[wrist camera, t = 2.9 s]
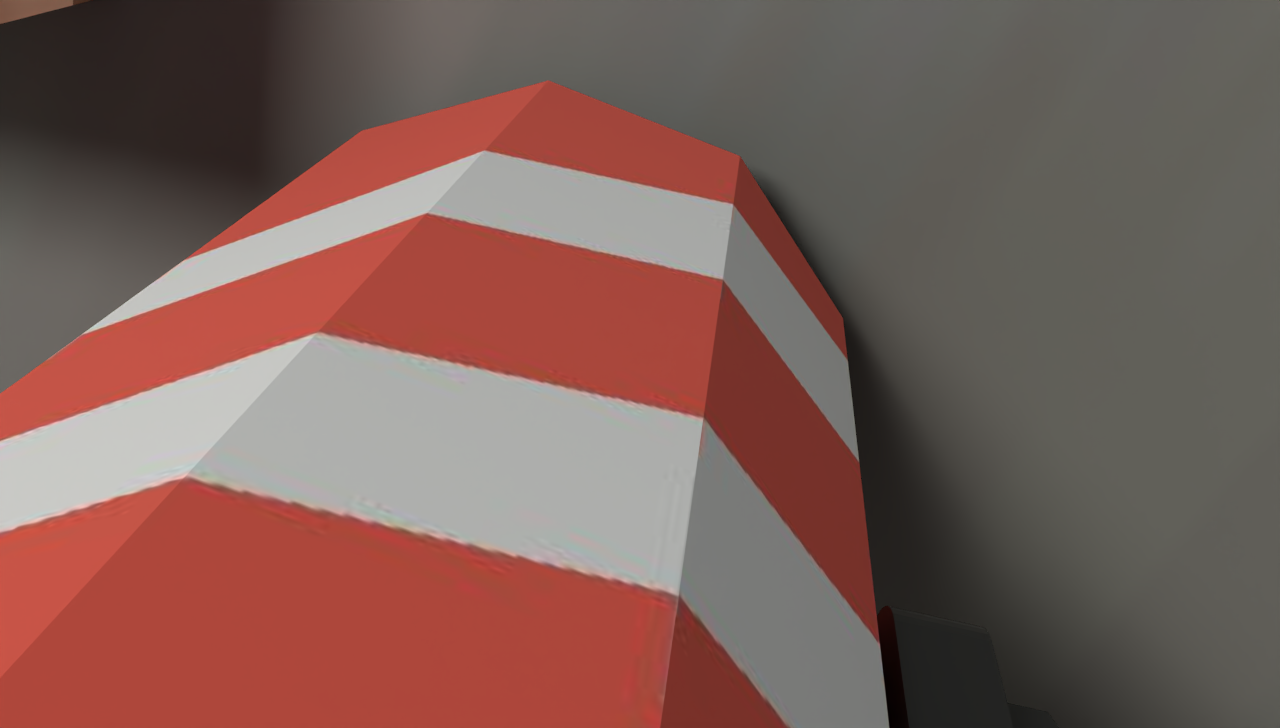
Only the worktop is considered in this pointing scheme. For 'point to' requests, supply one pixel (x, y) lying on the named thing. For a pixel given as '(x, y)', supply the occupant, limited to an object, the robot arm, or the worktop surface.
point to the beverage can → (453, 455)
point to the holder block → (31, 8)
